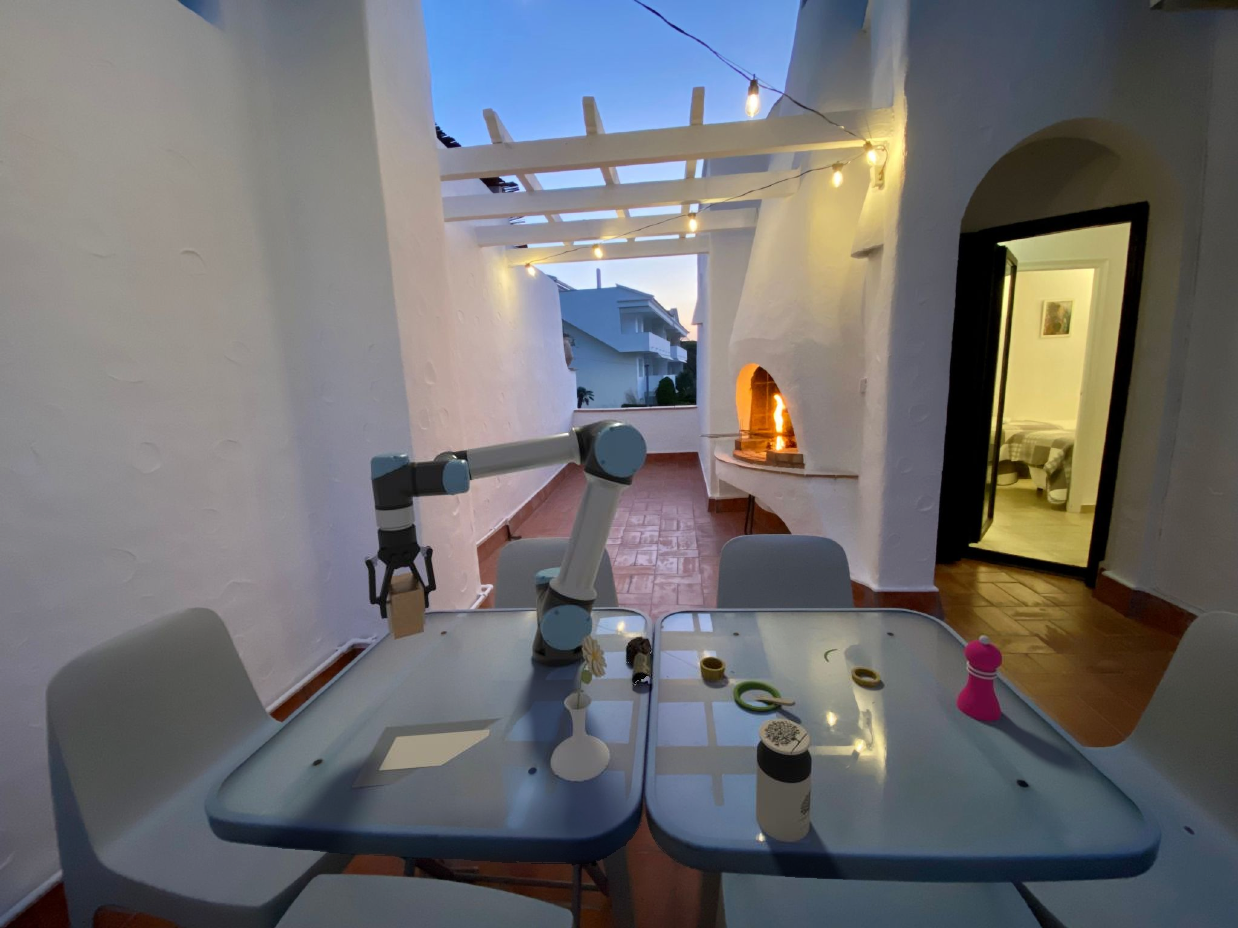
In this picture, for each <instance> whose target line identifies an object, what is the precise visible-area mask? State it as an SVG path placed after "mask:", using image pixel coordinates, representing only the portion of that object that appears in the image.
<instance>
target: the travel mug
mask: <svg viewBox="0 0 1238 928" xmlns="http://www.w3.org/2000/svg"><path fill="white" fill-rule="evenodd" d="M758 736H759V738H760V740H759V742H758V743H757V747H756V775H755V776H756V780H755V781H756V782H755V783H756V785H755V788H756V791H755V793H756V794H755V819H756V822H757V824H758V826H759V827H760V829H761V830H762V831H763V832H764V833H765V834H767V836H770V838H772V839H774V840H778V841H781V842H785V843H793V842H798V841H800V840H802V839H804V838H805V837H806V836H807V835H808V832H809V831H810V823H811V822H810V820H811V792H812V789H811V788H812V787H811V786H812V763H813V762H812V761H813V760H812V756H811V755H812V754H811V753H810V751H809V748H810V746H811V737H810V734H809V733H808V731H807V730H806V729H805V728H804V727H803V726H801V725H800V724H799V723H796V722H795V721H793V720H790V719H785V718H771V719H768V720H765V721H764V722H762V723H761V724H760V726H759V728H758Z"/></svg>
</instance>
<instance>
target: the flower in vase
mask: <svg viewBox="0 0 1238 928" xmlns="http://www.w3.org/2000/svg"><path fill="white" fill-rule="evenodd" d="M598 642H599V641H598V640H597V639H594V638H592V636H591V634H590V635H588V636H586V637H584V638H583V641H582V645H583V647H582V651H583V657H584V659H583V660H584V664H583V667H582V670H581V673H580V676H579V677H580V678H579V683H578V685H579V686H578V690H575V691H572V692H571V693H569V694H570V695H569V696H567V697H566V698H565V699H564V706H565V708H566V709H567V710H568V711H569V714H570V716H571V719H572V736H570V737H567V738H566V739H564V740H562V742H561V743H559V745H557V746H556V747H555V749H554V750H553V752H552V755H551V757H550V768H552V769H551V771H552V770H553V771H554V772H555V773H554V772H553V771H552V772H553V773H554V774H555V776H557V775H558V776H559V777H561V778H564V779H567V780H571V781H570V782H573V781H578V782H585V781H588V780H591V779H593V778H596V777H597V776H599V775H600V774H601V772H602V771H603V772H604V771H605V770H606V769H607V767H608V766H607V765H609V764H608V763H610V761H609V759H610V760H611V753H609V752H610V751H609V748H608V745H606V744H605V743H604V742H603V741H602V740H601V739H599V738H597V737H595V736H593V735H590V734H587V732H586V715H587V710H588V708H589V707H590V706H591V704H592V697H591V696H589V695H588V694H587V693H583V692H584V691H585V690H582V689H581V687H582V683H584V684H585V685H590V683H591V682H592V679H593V676H594V677H595V678H596V679H598V678H599V679H601V678H602V677H604V676H605V675H606V671H605V668H607V667H608V664H607V662H606V658H605V657H604V655H605V652H604V650H603V649H601V645H600V644H598ZM586 666H587V669H586ZM606 766H607V767H606ZM604 769H605V770H604ZM603 772H602V773H603ZM558 776H557V777H558ZM559 777H558V778H559ZM561 778H560V779H561ZM564 779H563V780H564ZM567 780H566V781H567ZM584 780H585V781H584Z"/></svg>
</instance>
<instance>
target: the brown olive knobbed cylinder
mask: <svg viewBox="0 0 1238 928" xmlns="http://www.w3.org/2000/svg"><path fill="white" fill-rule="evenodd" d="M625 647H626V648H625V660H626V662H629V663H630V665H631V664H633V665H632V668H633V669H632V674H631V682H632V685H634V684H636V683H635V682H636V681H637V680H639V681H641V679H644V678H645V677H646V676H649V677H650V678H651V674H652V663H651V655H650V652H651V650H652V651H653V649H652V644H651V641H650V639H649V638H648V637H646V638H643V637H642V636H636V637H634V638H632V639H631V640H630V641H628V642H627V645H626V646H625ZM629 663H628V664H629Z"/></svg>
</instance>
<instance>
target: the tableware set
mask: <svg viewBox="0 0 1238 928" xmlns="http://www.w3.org/2000/svg"><path fill="white" fill-rule="evenodd" d="M837 650H838V648H835V649H834V648H833V649H829V650H827V651H825V652H824V654H823V658H824V660H825V661H826V662H827V663H829V662H830V660H829V659H828V655H829V653H831V652H835V651H837ZM699 666H700V672H701V676H702V678H703V679H705V680H707V681H710V682H715V681H720V680H722V679H723V678H724V676H725V670H726V662H725V661H724V660H723V659H721V658H719V657H716V656H707V657H703V658H702V659H701V660H700V662H699ZM850 672H851V679H852V681H853V682H855V684H858V685H859V686H862V687H867V688H868V687H869V688H874V687H878V686H879V685H880V682H881V678H882V677H881V675H880V674H879V673H878V672H877V671H875V670H874V669H871V668H868V667H863V666H857V667H853V668H851V671H850ZM859 676H867V677H870V678H871V679H870V680H869V679H865V678H861V677H859ZM872 679H873V680H872ZM748 690H761V691H764V692H767V693H768V694H770V695H771V696H772V697H768V696H763V694H760V695H759V696H758V697H756V699H755V700H754V701H755V702H761V703H768V704H770V705H767V706H757V705H752V704H749V703H747V702H745V701H744V700H742V699H741V696H742V693H743V692H745V691H748ZM732 694H733V697H734V700H736V703H738V704H739V705H740V706H741V707H743V708H745V709H748V710H750V711H753V712H760V713H761V712H770V711H773V710H775V709H776V708H777V707H778V706H785V707H794V706H795V705H796V701H795V700H794V699H792V698H783V697H782V696H781V694H780V692H779V691H778V690H777V688H775V687H773V686H772V685H771V684H768V683H765V682H762V681H757V680H747V681H743V682H740V683H738V684H736V686H734V688H733V693H732Z"/></svg>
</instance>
